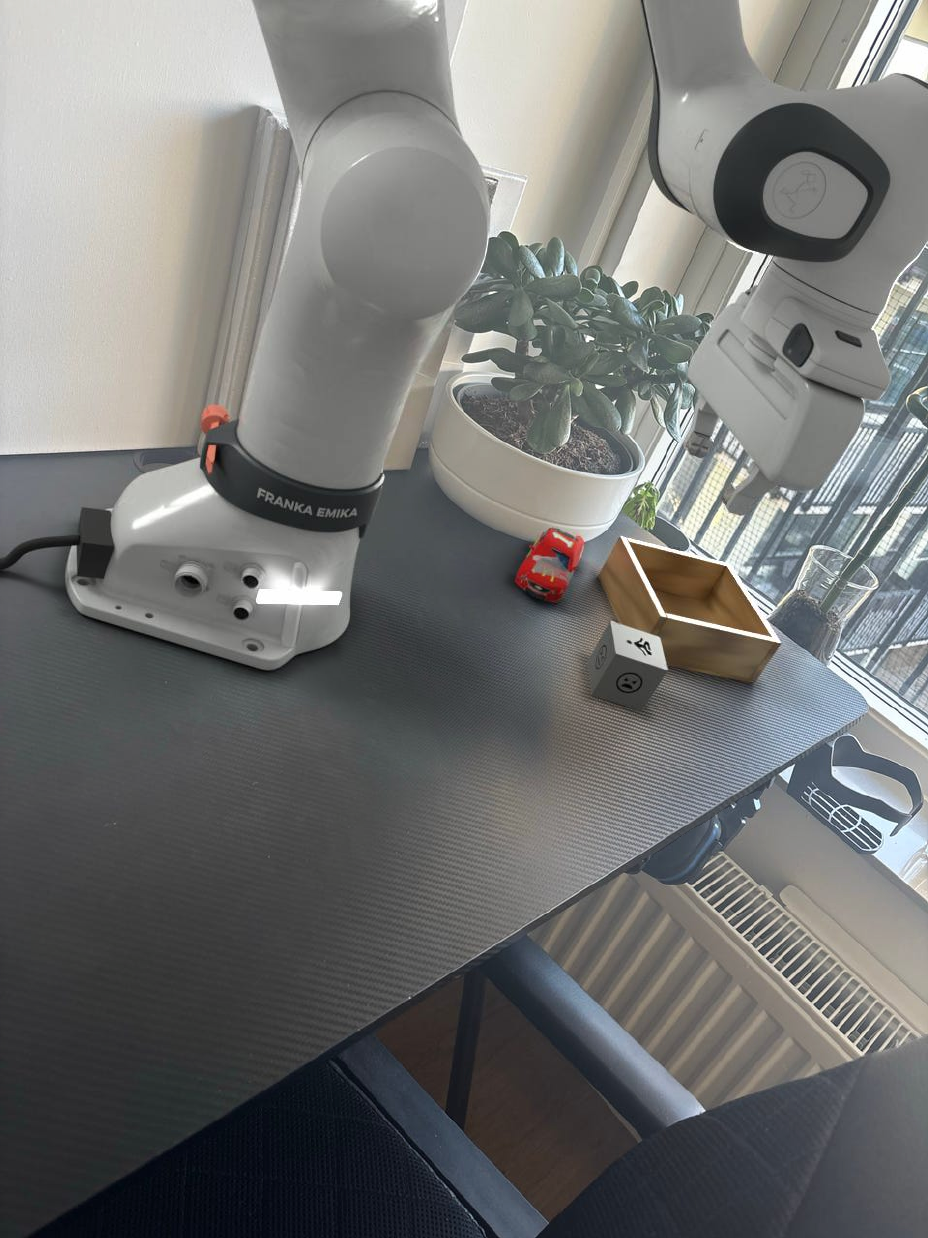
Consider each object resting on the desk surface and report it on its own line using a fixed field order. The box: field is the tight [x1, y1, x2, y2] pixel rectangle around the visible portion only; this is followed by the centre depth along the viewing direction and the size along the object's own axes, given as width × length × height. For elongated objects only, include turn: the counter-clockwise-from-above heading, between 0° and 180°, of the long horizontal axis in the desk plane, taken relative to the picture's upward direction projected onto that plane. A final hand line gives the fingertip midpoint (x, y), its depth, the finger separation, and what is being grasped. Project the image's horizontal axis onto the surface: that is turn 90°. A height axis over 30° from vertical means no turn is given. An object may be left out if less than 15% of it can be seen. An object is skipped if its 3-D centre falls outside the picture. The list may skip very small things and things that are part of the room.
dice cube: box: [586, 620, 669, 712], centre depth 85 cm, size 5×5×5 cm
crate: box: [597, 535, 783, 684], centre depth 98 cm, size 14×14×5 cm
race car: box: [513, 527, 585, 604], centre depth 98 cm, size 13×5×4 cm, turn 160°
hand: (711, 479), depth 78 cm, fingers open, 8 cm apart
